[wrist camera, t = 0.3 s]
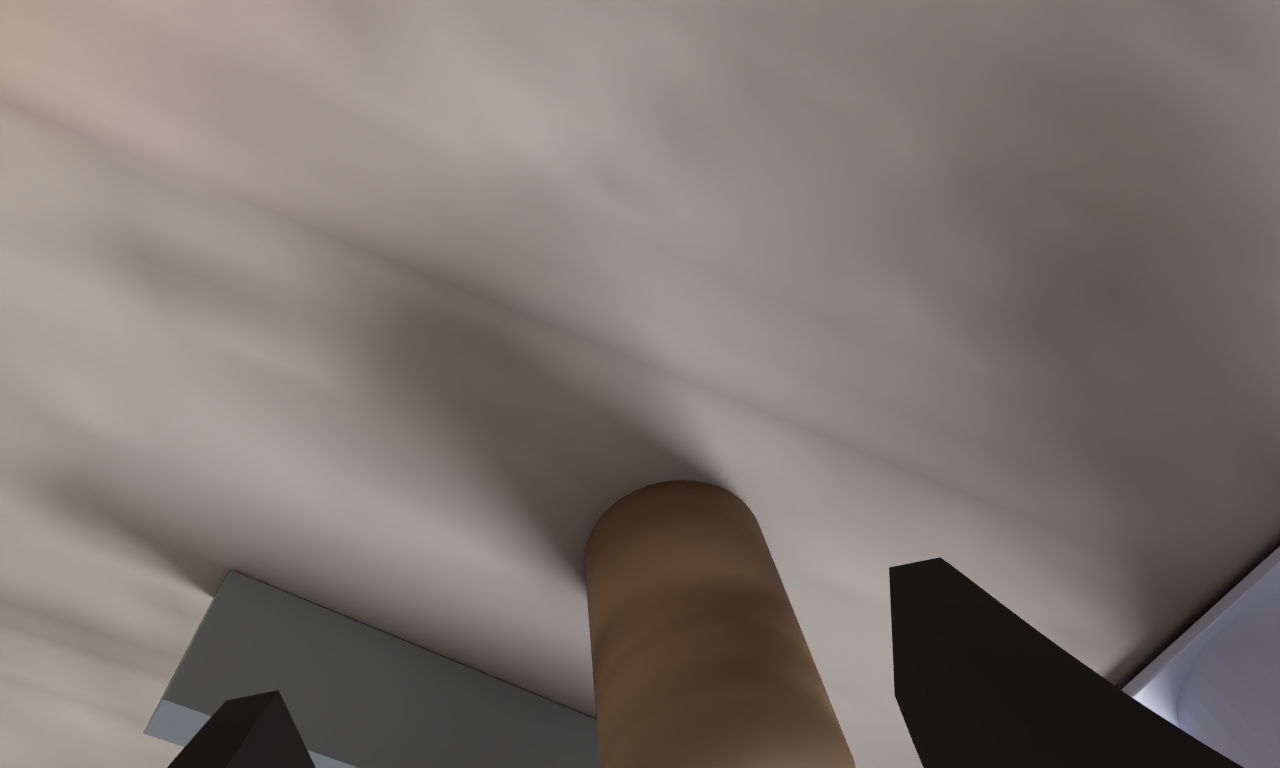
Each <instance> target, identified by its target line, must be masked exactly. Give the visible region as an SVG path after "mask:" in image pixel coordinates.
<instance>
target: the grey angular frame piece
mask: <svg viewBox="0 0 1280 768" xmlns="http://www.w3.org/2000/svg"><path fill="white" fill-rule="evenodd" d="M276 690H279V692H280V694H281V696H282V698H283V700H284V702H285V704H286V707H287V709H288V711H289V713H290V715H291V717H292V719H293V721H294V723H295V725H296V727H297V730H298V732H299V734H300V736H301V738H302V740H303V742H304V744H305V746H306V748H307V750H308V752H309V755H310V757H311V759H312V761H313V763H314V765H315V767H316V768H601V767H600V754H599V741H598V728H597V720H596V719H594V718H591V717H589V716H586V715H584V714H581V713H579V712H577V711H574V710H572V709H569V708H567V707H564V706H562V705H560V704H557V703H555V702H552V701H550V700H547V699H545V698H542V697H540V696H538V695H535V694H533V693H530V692H528V691H525V690H523V689H520V688H518V687H516V686H513V685H511V684H508V683H506V682H503V681H501V680H499V679H496V678H494V677H491V676H489V675H486V674H484V673H481V672H479V671H477V670H474V669H472V668H469V667H467V666H464V665H462V664H459V663H457V662H455V661H452V660H450V659H447V658H445V657H442V656H440V655H438V654H435V653H433V652H430V651H428V650H425V649H423V648H420V647H418V646H416V645H413V644H411V643H408V642H406V641H403V640H401V639H398V638H396V637H394V636H391V635H389V634H386V633H384V632H381V631H379V630H377V629H374V628H372V627H369V626H367V625H364V624H362V623H359V622H357V621H355V620H352V619H350V618H347V617H345V616H342V615H340V614H338V613H335V612H333V611H330V610H328V609H325V608H323V607H320V606H318V605H316V604H313V603H311V602H308V601H306V600H303V599H301V598H298V597H296V596H294V595H291V594H289V593H286V592H284V591H281V590H279V589H277V588H274V587H272V586H269V585H267V584H264V583H262V582H259V581H257V580H255V579H252V578H250V577H247V576H245V575H242V574H240V573H237V572H235V571H233V570H230V571H229V573H228V575H227V576H226V578H225V580H224V581H223V583H222V585H221V586H220V588H219V590H218V592H217V593H216V595H215V597H214V598H213V600H212V602H211V604H210V606H209V608H208V610H207V612H206V614H205V615H204V617H203V619H202V621H201V623H200V625H199V627H198V629H197V631H196V633H195V635H194V637H193V639H192V640H191V642H190V644H189V646H188V648H187V650H186V652H185V654H184V656H183V658H182V660H181V662H180V663H179V665H178V667H177V669H176V671H175V673H174V675H173V677H172V679H171V681H170V683H169V685H168V686H167V688H166V690H165V692H164V694H163V696H162V698H161V700H160V702H159V704H158V706H157V708H156V709H155V711H154V713H153V715H152V717H151V719H150V721H149V723H148V725H147V727H146V729H145V731H144V734H147V735H150V736H153V737H156V738H159V739H162V740H165V741H168V742H171V743H174V744H177V745H180V746H183V747H185V746H186V745H187V744H188V743H189V742H190V741H191V739H192V738H193V737H194V736H195V735H196V734H197V732H198V731H199V730H200V729H201V728H202V727H203V726H204V724H205V723H206V722H207V721H208V720H209V719H210V718H211V717H212V715H213V714H214V713H215V712H216V711H217V710H218V709H219V708H220V707H221V706H222V705H223V704H224V702H225V701H226V700H231V699H236V698H241V697H246V696H251V695H256V694H261V693H266V692H271V691H276Z"/></svg>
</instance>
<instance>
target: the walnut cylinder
mask: <svg viewBox="0 0 1280 768" xmlns="http://www.w3.org/2000/svg"><path fill="white" fill-rule="evenodd" d="M585 576H586V589H587V601H588V614H589V627H590V639H591V652H592V665H593V678H594V690H595V703H596V716H597V728H598V741H599V754H600V767H601V768H855V763H854V760H853V757H852V755H851V752H850V750H849V747H848V745H847V742H846V740H845V737H844V735H843V732H842V730H841V727H840V725H839V722H838V720H837V718H836V715H835V713H834V710H833V708H832V705H831V703H830V700H829V698H828V695H827V693H826V690H825V688H824V685H823V683H822V680H821V678H820V675H819V673H818V670H817V668H816V665H815V663H814V660H813V658H812V656H811V653H810V651H809V648H808V646H807V643H806V641H805V638H804V636H803V633H802V631H801V628H800V626H799V623H798V621H797V618H796V616H795V613H794V611H793V608H792V606H791V603H790V601H789V598H788V596H787V594H786V591H785V589H784V586H783V584H782V581H781V579H780V576H779V574H778V571H777V569H776V566H775V564H774V561H773V559H772V556H771V554H770V551H769V549H768V546H767V544H766V541H765V539H764V536H763V534H762V531H761V529H760V527H759V524H758V522H757V520H756V518H755V516H754V515H753V513H752V512H751V510H750V509H749V508H748V507H747V506H746V505H745V504H744V503H743V502H742V501H741V500H740V499H739V498H738V497H736V496H735V495H733V494H731V493H730V492H728V491H726V490H724V489H722V488H720V487H717V486H714V485H711V484H708V483H703V482H697V481H686V480H681V481H668V482H662V483H657V484H653V485H650V486H647V487H644V488H642V489H639V490H637V491H634V492H633V493H631V494H629V495H627V496H625V497H624V498H622V499H621V500H619V501H618V502H617V503H615V504H614V505H613V506H612V507H611V508H610V509H609V510H607V511H606V513H605V514H604V515H603V516H602V517H601V518H600V520H599V521H598V523H597V524H596V526H595V527H594V529H593V531H592V533H591V535H590V537H589V540H588V543H587V546H586V552H585Z"/></svg>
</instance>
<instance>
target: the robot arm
mask: <svg viewBox="0 0 1280 768" xmlns="http://www.w3.org/2000/svg"><path fill="white" fill-rule="evenodd" d="M889 574H890V597H891V619H892V642H893V665H894V687H895V697H896V700H897V702H898V705H899V707H900V710H901V712H902V715H903V718H904V720H905V723H906V725H907V728H908V730H909V733H910V735H911V738H912V741H913V743H914V745H915V748H916V750H917V753H918V755H919V758H920V760H921V763H922V765H923V767H924V768H1280V546H1279V547H1278V548H1277V549H1276V550H1275V551H1274V552H1272V553H1271V554H1270V555H1269V556H1268V557H1267V558H1266V559H1265V560H1264V561H1263V562H1261V563H1260V564H1259V565H1258V566H1257V567H1256V568H1255V569H1254V570H1253V571H1252V572H1250V573H1249V574H1248V575H1247V576H1246V577H1245V578H1244V579H1243V580H1242V581H1240V582H1239V583H1238V584H1237V585H1236V586H1235V587H1234V588H1233V589H1232V590H1231V591H1229V592H1228V593H1227V594H1226V595H1225V596H1224V597H1223V598H1222V599H1221V600H1220V601H1218V602H1217V603H1216V604H1215V605H1214V606H1213V607H1212V608H1211V609H1210V610H1209V611H1207V612H1206V613H1205V614H1204V615H1203V616H1202V617H1201V618H1200V619H1199V620H1198V621H1196V622H1195V623H1194V624H1193V625H1192V626H1191V627H1190V628H1189V629H1188V630H1187V631H1185V632H1184V633H1183V634H1182V635H1181V636H1180V637H1179V638H1178V639H1177V640H1175V641H1174V642H1173V643H1172V644H1171V645H1170V646H1169V647H1168V648H1167V649H1166V650H1164V651H1163V652H1162V653H1161V654H1160V655H1159V656H1158V657H1157V658H1156V659H1155V660H1153V661H1152V662H1151V663H1150V664H1149V665H1148V666H1147V667H1146V668H1145V669H1144V670H1142V671H1141V672H1140V673H1139V674H1138V675H1137V676H1136V677H1135V678H1134V679H1133V680H1131V681H1130V682H1129V683H1128V684H1127V685H1126V686H1125V687H1124V688H1123V689H1121V690H1120V689H1119V688H1117V687H1116V686H1114V685H1113V684H1112V683H1110V682H1109V681H1107V680H1106V679H1105V678H1103V677H1102V676H1100V675H1099V674H1097V673H1096V672H1095V671H1093V670H1092V669H1090V668H1089V667H1087V666H1086V665H1085V664H1083V663H1082V662H1080V661H1079V660H1077V659H1076V658H1075V657H1073V656H1072V655H1070V654H1069V653H1067V652H1066V651H1065V650H1063V649H1062V648H1060V647H1059V646H1058V645H1056V644H1055V643H1054V642H1052V641H1051V640H1049V639H1048V638H1047V637H1045V636H1044V635H1043V634H1041V633H1040V632H1039V631H1037V630H1036V629H1034V628H1033V627H1032V626H1030V625H1029V624H1028V623H1026V622H1025V621H1024V620H1022V619H1021V618H1020V617H1018V616H1017V615H1016V614H1014V613H1013V612H1012V611H1010V610H1009V609H1008V608H1007V607H1005V606H1004V605H1003V604H1001V603H1000V602H999V601H997V600H996V599H995V598H993V597H992V596H991V595H989V594H988V593H987V592H986V591H984V590H983V589H982V588H980V587H979V586H978V585H976V584H975V583H974V582H972V581H971V580H970V579H969V578H967V577H966V576H965V575H963V574H962V573H961V572H959V571H958V570H957V569H955V568H954V567H953V566H951V565H950V564H949V563H947V562H946V561H944V560H943V559H942V558H935V559H930V560H925V561H920V562H915V563H910V564H905V565H900V566H895V567H890V568H889ZM167 768H316V767H315V765H314V763H313V761H312V759H311V757H310V755H309V752H308V750H307V748H306V746H305V744H304V742H303V740H302V738H301V736H300V734H299V732H298V730H297V727H296V725H295V723H294V721H293V719H292V717H291V715H290V713H289V711H288V709H287V707H286V704H285V702H284V700H283V698H282V696H281V694H280V692H279V690H276V691H271V692H266V693H261V694H256V695H251V696H246V697H241V698H236V699H231V700H226V701H225V702H224V704H223V705H222V706H221V707H220V708H219V709H218V710H217V711H216V712H215V713H214V714H213V715H212V717H211V718H210V719H209V720H208V721H207V722H206V723H205V724H204V726H203V727H202V728H201V729H200V730H199V731H198V732H197V734H196V735H195V736H194V737H193V738H192V739H191V741H190V742H189V743H188V744H187V745H186V746H185V748H184V749H183V750H182V751H181V752H180V753H179V755H178V756H177V757H176V758H175V759H174V760H173V762H172V763H171V764H170V765H169V766H168V767H167Z"/></svg>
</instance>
